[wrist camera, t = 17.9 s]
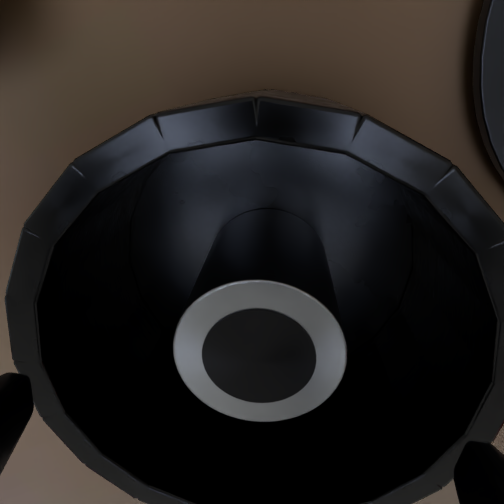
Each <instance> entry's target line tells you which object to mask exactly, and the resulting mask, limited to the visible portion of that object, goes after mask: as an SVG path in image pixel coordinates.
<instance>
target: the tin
mask: <svg viewBox="0 0 504 504" xmlns="http://www.w3.org/2000/svg"><path fill="white" fill-rule="evenodd" d="M259 209H275V210H280V211H285V212H288V213H290V214H293V215H295V216H297V217H299V218H300V219H302V220H303V221H305V222H306V223H307V224H308V225H309V226H311V227H312V229H313V230H314V231H315V232H316V233H317V235H318V236H319V238H320V240H321V242H322V244H323V246H324V250H325V253H326V258H327V262H328V266H329V270H330V274H331V279H332V283H333V287H334V291H335V295H336V300H337V304H338V308H339V312H340V316H341V321H342V325H343V329H344V333H345V337H346V342H347V350H348V355H347V364H346V369H345V372H344V375H343V378H342V380H341V382H340V383H339V385H338V387H337V388H336V390H335V391H334V392H333V394H332V395H331V396H330V397H329V398H328V399H327V400H326V401H325V402H323V403H322V404H321V405H319V406H318V407H317V408H315V409H313V410H312V411H310V412H308V413H306V414H303V415H301V416H298V417H295V418H292V419H288V420H283V421H276V422H253V421H246V420H241V419H237V418H233V417H230V416H227V415H225V414H222V413H220V412H218V411H216V410H214V409H212V408H211V407H209V406H208V405H206V404H205V403H203V402H202V401H201V400H199V399H198V398H197V397H196V396H195V395H194V394H193V393H192V392H191V391H190V390H189V389H188V387H187V386H186V385H185V383H184V382H183V380H182V378H181V376H180V375H179V373H178V370H177V367H176V364H175V361H174V355H173V337H174V332H175V329H176V325H177V323H178V321H179V319H180V316H181V314H182V312H183V310H184V307H185V305H186V303H187V300H188V298H189V296H190V294H191V291H192V289H193V287H194V285H195V282H196V280H197V278H198V276H199V273H200V271H201V269H202V267H203V264H204V262H205V260H206V258H207V255H208V253H209V251H210V249H211V246H212V244H213V242H214V240H215V238H216V236H217V234H218V233H219V232H220V230H221V229H222V228H223V227H224V226H225V225H226V224H227V223H228V222H229V221H231V220H232V219H234V218H235V217H237V216H239V215H241V214H243V213H246V212H249V211H253V210H259ZM5 305H6V313H7V321H8V328H9V336H10V344H11V352H12V359H13V360H14V365H15V367H16V369H17V371H18V373H19V374H24V375H27V376H28V377H29V378H30V381H31V388H32V395H33V402H34V405H35V407H36V409H37V411H38V413H39V415H40V416H41V417H43V421H44V422H45V423H46V424H47V425H48V426H49V427H50V428H51V429H52V430H53V432H54V433H55V434H56V435H57V436H58V437H59V438H60V439H61V440H62V441H63V442H64V444H65V445H66V446H67V447H68V448H69V449H70V450H71V451H72V452H73V453H74V454H75V456H76V457H77V458H78V459H79V460H80V461H81V462H82V463H84V464H85V465H86V466H87V467H88V468H90V469H91V470H93V471H94V472H96V473H97V474H99V475H100V476H102V477H103V478H105V479H106V480H108V481H109V482H111V483H112V484H114V485H115V486H117V487H118V488H120V489H121V490H123V491H124V492H126V493H127V494H129V495H130V496H132V497H133V498H138V500H139V501H142V502H145V503H147V504H413V503H415V502H417V501H419V500H421V499H423V498H425V497H427V496H429V495H431V494H433V493H435V492H437V491H439V490H441V489H442V487H444V486H446V485H447V484H448V483H449V482H450V481H451V480H453V479H454V468H455V465H456V463H457V461H458V459H459V457H460V454H461V452H462V450H463V448H464V446H465V444H466V443H467V442H468V441H478V442H485V443H489V444H491V442H493V441H494V440H495V438H496V436H497V434H498V432H499V431H500V429H501V427H502V425H503V424H504V223H503V221H502V220H501V219H500V218H499V217H498V215H497V214H496V213H495V212H494V211H493V209H492V208H491V207H490V206H489V204H488V203H487V202H486V201H485V200H484V198H483V197H482V196H481V195H480V194H479V192H478V191H477V190H476V189H475V187H474V186H473V185H472V184H471V183H470V181H469V180H468V179H467V178H466V177H465V175H464V174H463V173H462V172H461V171H460V169H459V168H458V167H457V166H455V165H453V164H452V162H451V161H450V160H449V159H447V158H445V157H443V156H441V155H440V154H438V153H436V152H434V151H432V150H431V149H429V148H427V147H425V146H423V145H422V144H420V143H418V142H416V141H414V140H413V139H411V138H409V137H407V136H405V135H404V134H402V133H400V132H398V131H396V130H395V129H393V128H391V127H389V126H387V125H386V124H384V123H382V122H380V121H378V120H377V119H375V118H373V117H371V116H369V115H368V114H365V113H363V112H360V111H358V110H355V109H353V108H350V107H348V106H345V105H343V104H340V103H338V102H335V101H333V100H329V99H327V98H322V97H316V96H310V95H304V94H298V93H294V92H285V91H279V90H273V89H271V90H266V89H264V90H259V91H253V92H248V93H242V94H237V95H231V96H225V97H220V98H214V99H210V100H206V101H201V102H197V103H193V104H189V105H185V106H181V107H177V108H173V109H169V110H165V111H160V112H158V113H155V114H151V115H149V116H147V117H145V118H144V119H142V120H140V121H138V122H137V123H135V124H133V125H132V126H130V127H128V128H127V129H125V130H123V131H121V132H120V133H118V134H116V135H115V136H113V137H111V138H110V139H108V140H106V141H104V142H103V143H101V144H99V145H98V146H96V147H94V148H93V149H91V150H89V151H87V152H86V153H84V154H82V155H81V156H79V157H77V158H76V159H75V160H74V161H73V162H72V163H70V164H69V165H68V167H67V168H66V169H65V171H64V172H63V173H62V175H61V176H60V177H59V178H58V180H57V181H56V182H55V184H54V185H53V186H52V188H51V189H50V190H49V191H48V193H47V194H46V195H45V197H44V198H43V199H42V201H41V202H40V203H39V205H38V206H37V207H36V208H35V210H34V211H33V212H32V214H31V215H30V216H29V218H28V219H27V220H26V221H25V223H24V227H23V228H22V231H21V235H20V239H19V243H18V247H17V250H16V254H15V258H14V262H13V266H12V270H11V273H10V277H9V281H8V285H7V289H6V296H5Z"/></svg>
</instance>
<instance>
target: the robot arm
mask: <svg viewBox="0 0 504 504" xmlns="http://www.w3.org/2000/svg"><path fill="white" fill-rule="evenodd" d="M33 408H34V402H33V395H32V388H31V381H30V378H29V377H28V376H27V375H24V374H18V373H5V374H3V375H1V376H0V474H1V473H2V471H3V469H4V467H5V465H6V463H7V461H8V459H9V457H10V456H11V454H12V452H13V450H14V448H15V446H16V444H17V442H18V440H19V438H20V437H21V435H22V433H23V431H24V429H25V427H26V425H27V423H28V421H29V420H30V418H31V415H32V413H33ZM454 482H455V487H456V491H457V495H458V499H459V503H460V504H504V455H503V454H502V453H501V452H500V451H499V450H498V449H497V448H495V447H494V446H493V445H491V444H489V443H485V442H478V441H468V442H467V443H466V444H465V446H464V448H463V450H462V452H461V454H460V457H459V459H458V461H457V463H456V465H455V468H454Z"/></svg>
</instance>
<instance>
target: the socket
mask: <svg viewBox="0 0 504 504" xmlns="http://www.w3.org/2000/svg"><path fill="white" fill-rule="evenodd" d="M173 355H174V361H175V364H176V367H177V370H178V373H179V375H180V376H181V378H182V380H183V382H184V383H185V385H186V386H187V387H188V389H189V390H190V391H191V392H192V393H193V394H194V395H195V396H196V397H197V398H198V399H199V400H201V401H202V402H203V403H205V404H206V405H208V406H209V407H211V408H212V409H214V410H216V411H218V412H220V413H222V414H225V415H227V416H230V417H233V418H237V419H241V420H246V421H253V422H276V421H283V420H288V419H292V418H295V417H298V416H301V415H303V414H306V413H308V412H310V411H312V410H313V409H315V408H317V407H318V406H319V405H321V404H322V403H323V402H325V401H326V400H327V399H328V398H329V397H330V396H331V395H332V394H333V392H334V391H335V390H336V388H337V387H338V385H339V383H340V382H341V380H342V378H343V375H344V372H345V369H346V364H347V355H348V350H347V342H346V337H345V333H344V329H343V325H342V321H341V316H340V312H339V308H338V304H337V300H336V295H335V291H334V287H333V283H332V279H331V274H330V270H329V266H328V262H327V258H326V253H325V250H324V246H323V244H322V242H321V240H320V238H319V236H318V235H317V233H316V232H315V231H314V230H313V229H312V227H311V226H309V225H308V224H307V223H306V222H305V221H303V220H302V219H300V218H299V217H297V216H295V215H293V214H290V213H288V212H285V211H280V210H275V209H259V210H253V211H249V212H246V213H243V214H241V215H239V216H237V217H235V218H234V219H232V220H231V221H229V222H228V223H227V224H226V225H225V226H224V227H223V228H222V229H221V230H220V232H219V233H218V234H217V236H216V238H215V240H214V242H213V244H212V246H211V249H210V251H209V253H208V255H207V258H206V260H205V262H204V264H203V267H202V269H201V271H200V273H199V276H198V278H197V280H196V282H195V285H194V287H193V289H192V291H191V294H190V296H189V298H188V300H187V303H186V305H185V307H184V310H183V312H182V314H181V316H180V319H179V321H178V323H177V325H176V329H175V332H174V337H173Z"/></svg>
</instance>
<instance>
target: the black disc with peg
mask: <svg viewBox="0 0 504 504" xmlns="http://www.w3.org/2000/svg"><path fill="white" fill-rule="evenodd" d="M473 95H474V103H475V111H476V118H477V121H478V125H479V129H480V132H481V136H482V140H483V143H484V145H485V147H486V149H487V152H488V154H489V156H490V158H491V161H492V163H493V165H494V166H495V168H496V169H497V171H498V172H499V174H500V175H501V177H502V178H503V180H504V0H484V1H483V5H482V9H481V13H480V17H479V21H478V25H477V33H476V40H475V47H474V55H473Z"/></svg>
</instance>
